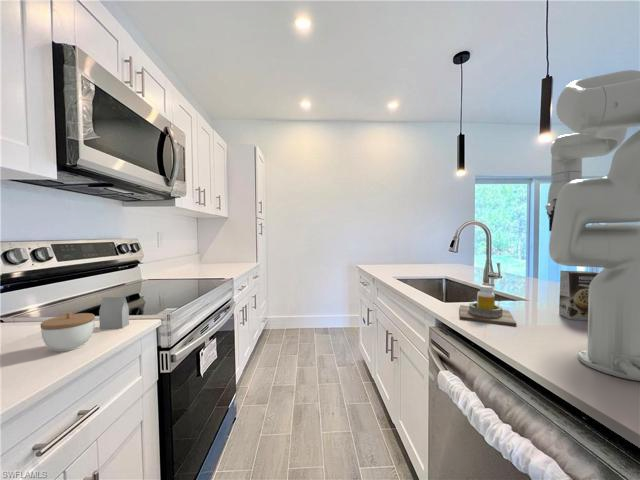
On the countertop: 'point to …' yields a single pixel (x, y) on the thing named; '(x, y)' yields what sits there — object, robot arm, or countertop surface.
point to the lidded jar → (67, 331)
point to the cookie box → (575, 294)
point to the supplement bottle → (485, 297)
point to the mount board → (487, 315)
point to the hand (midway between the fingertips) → (565, 231)
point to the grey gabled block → (114, 313)
